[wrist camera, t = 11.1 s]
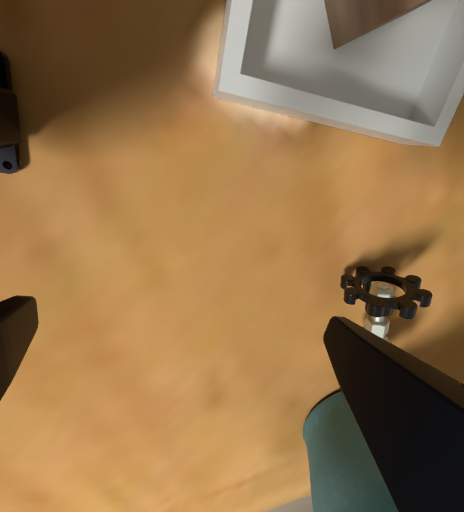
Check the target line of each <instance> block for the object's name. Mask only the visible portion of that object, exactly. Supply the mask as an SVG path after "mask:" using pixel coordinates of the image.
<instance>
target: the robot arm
mask: <svg viewBox="0 0 464 512" xmlns="http://www.w3.org/2000/svg"><path fill="white" fill-rule="evenodd" d="M20 141H21V136H20V127H19V117H18V108H17V98H16V95H15V94H14V93H13V92H12V85H11V76H10V67H9V61H8V58H7V56H6V55H5V54H4V53H3V52H2V51H0V172H1V173H8V174H12V173H16V172H18V171H19V170H20V157H19V148H18V143H19V142H20ZM7 161H9V162H10V163H11V164H12V169H11V168H9V167H8V166H7V164H6V163H7ZM37 328H38V312H37V303H36V299H35V298H34V297H32V296H13V297H11V298H8V299H6V300H3V301H1V302H0V400H1V399H2V397H3V396H4V394H5V392H6V391H7V389H8V387H9V386H10V384H11V382H12V380H13V378H14V376H15V374H16V372H17V370H18V368H19V366H20V364H21V362H22V360H23V358H24V356H25V354H26V352H27V349H28V347H29V345H30V343H31V341H32V339H33V337H34V335H35V333H36V331H37ZM323 340H324V344H325V347H326V350H327V353H328V355H329V358H330V361H331V364H332V367H333V369H334V372H335V375H336V378H337V380H338V383H339V385H340V388H341V390H342V392H343V394H344V396H345V398H346V401H347V403H348V405H349V407H350V409H351V411H352V413H353V416H354V418H355V420H356V422H357V424H358V426H359V429H360V431H361V433H362V435H363V437H364V439H365V441H366V444H367V446H368V448H369V450H370V452H371V454H372V456H373V459H374V461H375V463H376V465H377V467H378V469H379V471H380V474H381V476H382V478H383V480H384V482H385V484H386V487H387V489H388V491H389V493H390V495H391V497H392V499H393V502H394V504H395V506H396V508H397V510H398V512H464V384H462V383H459V382H458V381H457V380H455V379H453V378H451V377H450V376H448V375H446V374H444V373H443V372H441V371H439V370H437V369H436V368H434V367H432V366H430V365H428V364H427V363H425V362H423V361H421V360H420V359H418V358H416V357H414V356H413V355H411V354H409V353H407V352H405V351H404V350H402V349H400V348H398V347H397V346H395V345H393V344H391V343H389V342H388V341H386V340H384V339H382V338H381V337H379V336H377V335H375V334H374V333H372V332H370V331H368V330H366V329H365V328H363V327H361V326H359V325H358V324H356V323H354V322H352V321H351V320H349V319H347V318H345V317H337V316H334V317H332V318H331V319H330V321H329V323H328V326H327V328H326V331H325V333H324V337H323Z"/></svg>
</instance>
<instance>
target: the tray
mask: <svg viewBox="0 0 464 512" xmlns="http://www.w3.org/2000/svg"><path fill="white" fill-rule="evenodd" d="M463 94H464V0H432V1H430V2H428V3H426V4H424V5H422V6H420V7H418V8H417V9H415V10H413V11H411V12H409V13H407V14H405V15H403V16H401V17H399V18H397V19H395V20H393V21H391V22H389V23H387V24H385V25H383V26H381V27H379V28H377V29H375V30H373V31H371V32H369V33H367V34H365V35H363V36H361V37H359V38H357V39H355V40H353V41H351V42H349V43H347V44H345V45H343V46H341V47H339V48H337V49H335V50H334V48H333V43H332V38H331V33H330V28H329V23H328V18H327V13H326V8H325V3H324V0H227V1H226V8H225V15H224V22H223V29H222V36H221V43H220V50H219V57H218V64H217V71H216V78H215V84H214V91H213V98H217V99H222V100H226V101H230V102H234V103H238V104H242V105H246V106H250V107H254V108H258V109H262V110H266V111H270V112H274V113H278V114H282V115H286V116H290V117H294V118H298V119H303V120H307V121H311V122H315V123H319V124H323V125H327V126H331V127H335V128H339V129H343V130H347V131H351V132H355V133H359V134H363V135H367V136H371V137H375V138H379V139H384V140H388V141H392V142H396V143H400V144H404V145H418V146H435V147H439V146H440V144H441V142H442V140H443V138H444V136H445V133H446V131H447V129H448V127H449V125H450V123H451V120H452V118H453V116H454V114H455V112H456V110H457V107H458V105H459V103H460V101H461V99H462V97H463Z"/></svg>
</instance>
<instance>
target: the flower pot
mask: <svg viewBox="0 0 464 512" xmlns="http://www.w3.org/2000/svg"><path fill="white" fill-rule="evenodd" d="M303 437H304V440H305V443H306V446H307V450H308V459H309V469H310V482H311V495H312V504H313V511H314V512H398V510H397V508H396V506H395V504H394V502H393V499H392V497H391V495H390V493H389V491H388V489H387V487H386V484H385V482H384V480H383V478H382V476H381V474H380V471H379V469H378V467H377V465H376V463H375V461H374V459H373V456H372V454H371V452H370V450H369V448H368V446H367V444H366V441H365V439H364V437H363V435H362V433H361V431H360V429H359V426H358V424H357V422H356V420H355V418H354V416H353V413H352V411H351V409H350V407H349V405H348V403H347V401H346V398H345V396H344V394H343V392H342V391H341V392H338V393H336V394H334V395H332V396H330V397H328V398H327V399H325V400H323V401H322V402H321V403H319V404H318V405H317V406H316V407H315V408H314V409H313V410H312V411H311V413H310V414H309V416H308V417H307V419H306V421H305V423H304V427H303Z"/></svg>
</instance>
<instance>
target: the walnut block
mask: <svg viewBox="0 0 464 512" xmlns="http://www.w3.org/2000/svg"><path fill="white" fill-rule="evenodd" d="M430 1H432V0H324V3H325V8H326V13H327V18H328V23H329V28H330V33H331V38H332V43H333V48H334V50H335V49H337V48H339V47H341V46H343V45H345V44H347V43H349V42H351V41H353V40H355V39H357V38H359V37H361V36H363V35H365V34H367V33H369V32H371V31H373V30H375V29H377V28H379V27H381V26H383V25H385V24H387V23H389V22H391V21H393V20H395V19H397V18H399V17H401V16H403V15H405V14H407V13H409V12H411V11H413V10H415V9H417V8H418V7H420V6H422V5H424V4H426V3H428V2H430Z"/></svg>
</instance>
